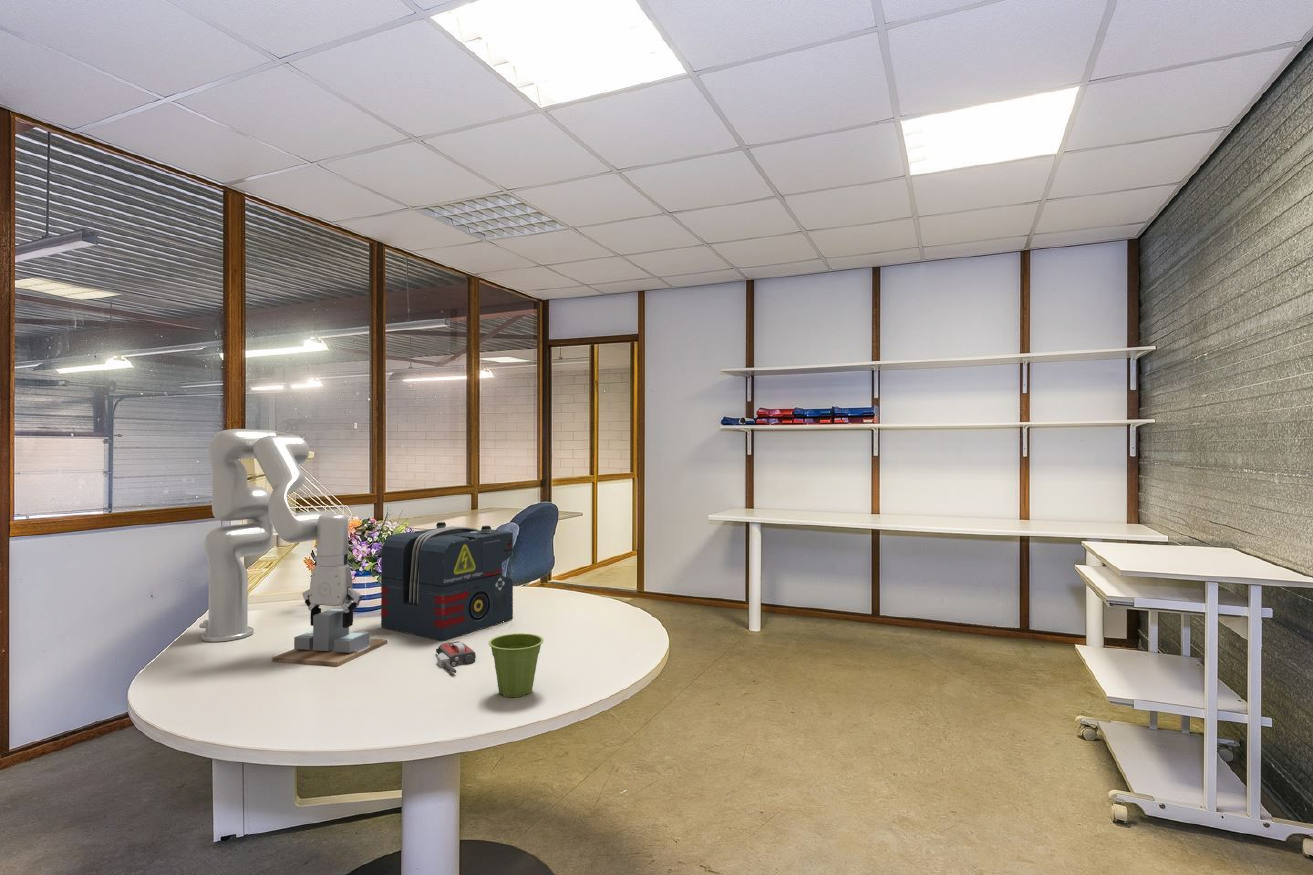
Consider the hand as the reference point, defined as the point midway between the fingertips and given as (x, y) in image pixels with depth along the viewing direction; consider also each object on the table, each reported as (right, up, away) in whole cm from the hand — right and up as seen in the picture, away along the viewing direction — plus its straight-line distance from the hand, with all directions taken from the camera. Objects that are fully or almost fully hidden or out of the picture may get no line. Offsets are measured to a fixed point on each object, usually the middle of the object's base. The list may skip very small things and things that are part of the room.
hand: (331, 625), depth 175 cm
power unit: (+22, -8, +28) cm, 37 cm away
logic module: (0, -5, 0) cm, 5 cm away
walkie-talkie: (+36, -7, -9) cm, 38 cm away
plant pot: (+55, -6, -30) cm, 63 cm away
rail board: (0, -7, 0) cm, 7 cm away
